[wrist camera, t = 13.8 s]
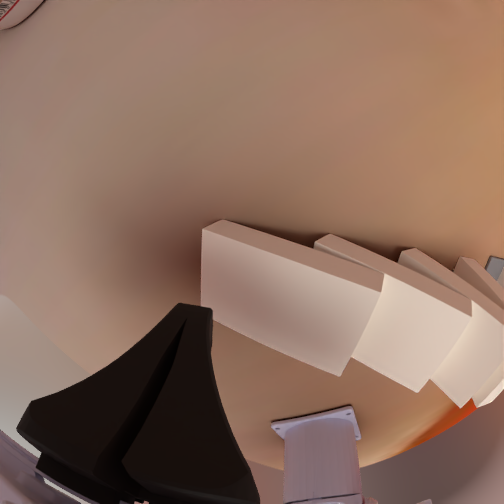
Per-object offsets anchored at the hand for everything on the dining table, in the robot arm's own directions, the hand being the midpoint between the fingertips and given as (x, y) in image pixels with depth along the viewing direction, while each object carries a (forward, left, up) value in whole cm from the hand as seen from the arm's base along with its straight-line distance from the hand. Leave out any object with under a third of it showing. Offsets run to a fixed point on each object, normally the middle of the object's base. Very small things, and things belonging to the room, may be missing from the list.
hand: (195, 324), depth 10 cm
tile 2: (-2, -4, -4) cm, 7 cm away
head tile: (0, 0, -4) cm, 4 cm away
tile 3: (-5, -9, -4) cm, 11 cm away
